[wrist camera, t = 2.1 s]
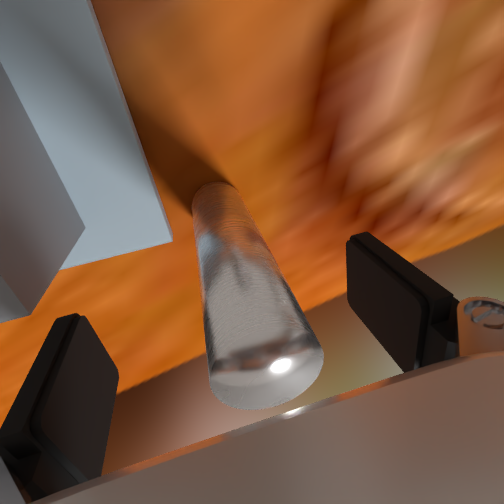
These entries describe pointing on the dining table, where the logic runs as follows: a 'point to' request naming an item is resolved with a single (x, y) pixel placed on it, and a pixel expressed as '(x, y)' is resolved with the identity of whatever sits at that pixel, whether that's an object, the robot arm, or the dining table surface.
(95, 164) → the grey socket block
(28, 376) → the robot arm
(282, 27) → the dining table surface
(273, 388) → the key peg
